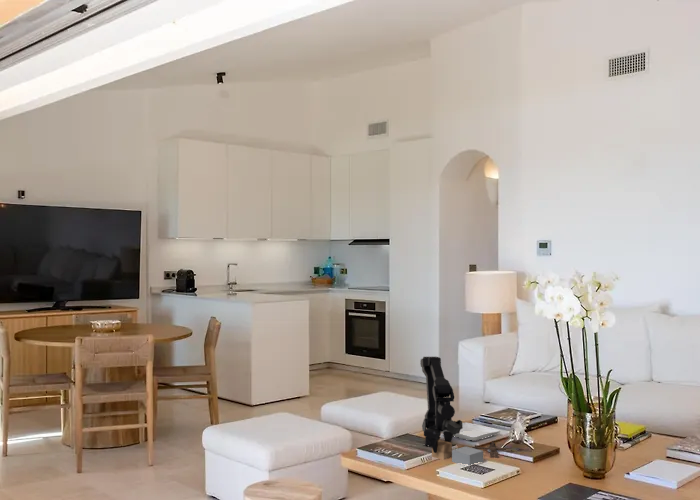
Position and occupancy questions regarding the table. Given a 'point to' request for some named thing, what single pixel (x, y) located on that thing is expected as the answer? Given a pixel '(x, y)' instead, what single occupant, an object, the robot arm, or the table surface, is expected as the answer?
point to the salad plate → (476, 427)
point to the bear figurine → (492, 449)
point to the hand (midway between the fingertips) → (441, 450)
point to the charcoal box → (467, 455)
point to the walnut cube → (443, 450)
